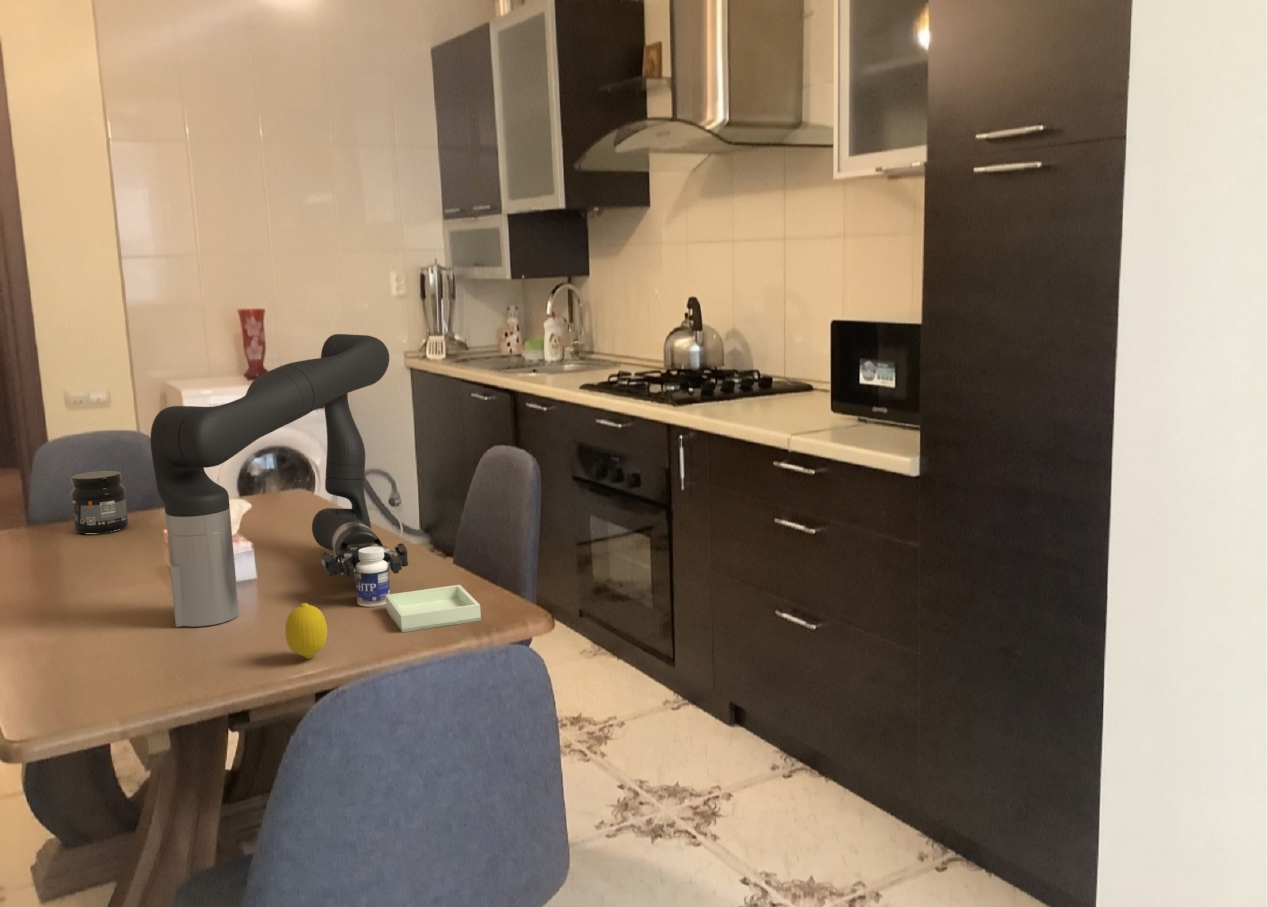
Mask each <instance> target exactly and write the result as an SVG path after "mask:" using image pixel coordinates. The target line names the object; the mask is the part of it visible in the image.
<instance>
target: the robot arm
mask: <svg viewBox="0 0 1267 907" xmlns="http://www.w3.org/2000/svg"><path fill="white" fill-rule="evenodd" d="M389 365H390V352H389V349H388V347H387V346H386V344H385V342H383V341H382V340H381V339H379V338H377V337H376V336H371V335H367V334H348V333H343V334H342V333H336V334H335V333H334V334H332V335H330V336H328V337H327V339H326V340H325V341H324V343H323V346H322V349H321V354H320V357H319V358H312V359H305V360H299V361H293V362H290V363H286V364H283V365H280V366H277V367H276V368H273V369H271V370H269V371H265V372H264V373H262V374H261V375H259V376H258V377H256V378H255V379H254V380H253V381H252V382H251V383H250V385H249V387H248V388H247V390H246V393H245V395H244V396H242V397H240V398H239V399H238V398H237V399H235V400H232V401H230V402H227V403H224V404H220V405H215V406H197V405H196V406H195V405H193V406H191V405H173V406H167V407H164V408H163V409H161V410H160V411H159V412H158V413H157V414H156V416H155V418H154V419H153V422H152V425H151V428H150V439H149V440H150V452H151V457H152V458H151V459H152V464H153V465H152V466H153V471H154V478H155V484H156V489H157V493H158V496H159V498H160V500H161V501H162V504H163V507H164V514H165V522H166V523H165V524H166V534H167V543H168V544H167V546H168V556H169V571H170V579H171V589H172V590H171V591H172V592H171V593H172V602H173V611H174V621H175V622H174V624H175V627H176V628H180V627H191V628H192V627H193V628H194V627H206V626H207V627H208V626H214V625H219V624H222V623H226V622H229V621H231V620H233V619H235V618H237V617H238V616H239V613H240V612H239V599H238V591H237V590H238V586H237V578H236V577H237V576H236V575H237V574H236V565H235V563H236V562H235V553H234V540H233V531H232V530H233V529H232V528H233V527H232V520H231V518H232V517H231V507H230V506H231V505H230V495H229V492H228V491H227V489H226V488H225V487H224V486H222V485H220V484H218V483H216V482H215V480H214V481H213V479H212V478H210V477H209V475H207V473H206V471H205V468H206V469H207V468H214V467H217V466H220V465H222V464H224V463H225V462H227V461H228V460H230V459H232V458H233V457H235V456H236V455H237V454H239V453H241V452H242V451H243V450H244V449H246V448H247V447H249V446H250V445H251V444H253V443H254V442H256V441H257V440H259V439H260V438H263V437H264V436H267V435H269V434H271V433H272V432H275V431H277V430H279V429H280V428H283V427H284V426H287V425H289V424H291V423H294V422H295V421H297V420H299V419H301V418H303V417H305V416H307V415H309V414H310V413H312V412H313V411H315V410H318V409H319V408H321V407H324V408H323V409H324V415H325V416H324V418H325V424H326V426H325V427H326V464H325V481H324V488H325V491H326V493H328V494H329V495H332V496H336V497H340V498H344V499H347V500H349V502H350V504H351V508H335V507H327V508H322V509H321V510H319V511H317V513H316V514H315V515H314V517H313V520H312V523H311V532H312V535H313V538H314V540H315V542H316V543H317V544H318V545H319V546H320V547H322V548H324V549H326V550H328V551H332V552H333V553H330V552H326V551H325V552H322V553H321V554H320V555H321V557H320V558H321V568H322V569H323V570H324V571H325V572H326V573H327V575H329V576H333V577H334V576H337V575H338V573H340V574H341V576H342V575H343V576H344V577H345V578H348V579H349V580H355V567H356V565H357V564H358V563H359V562H360V560H359V554H358V551H359V550H360V549H362V548H366V547H382V548H383V549H384V558H383V560H384V561H386V562H387V563H388V566H389V570H390V571H392V573H393V574H399V573H400V571H402V570H403V569H402V568H403V567H407V566H409V561H408V549H407V548H406V545H405V543H402V542H401V543H398V544H396V545H395V546H394V548H391V549H390V548H389V547H388V546H385V545H383V542H382V540H380V538H379V537H378V536H377V534H376V533H375V532H374V531H373V529H372V524H371V519H370V515H369V512H368V506H367V503H366V497H365V494H366V493H365V474H366V473H365V472H366V448H365V444H364V442H363V439H362V436H361V434H360V433H361V432H360V431H359V429H358V427H357V425H356V422H355V420H354V418H353V415H352V411H351V408H350V403H349V397H348V396H349V395H348V394H349V393H352V392H353V391H356V390H360V389H363V388H367V387H369V386H372V385H374V384H376V383H378V382H379V381H380V380H381V379H382V378H383V377H384V375H385V374H386V373H387V371H388V368H389Z"/></svg>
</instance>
